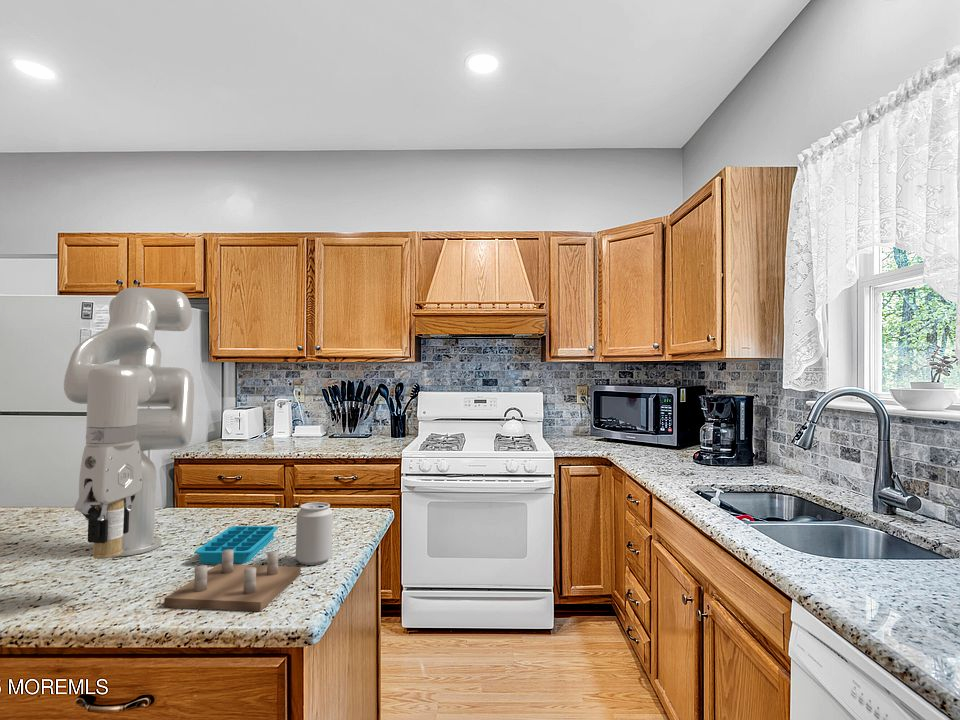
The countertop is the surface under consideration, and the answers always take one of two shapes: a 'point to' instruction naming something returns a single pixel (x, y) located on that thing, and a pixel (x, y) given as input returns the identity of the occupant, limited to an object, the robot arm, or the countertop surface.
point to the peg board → (234, 585)
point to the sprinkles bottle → (112, 532)
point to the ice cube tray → (236, 544)
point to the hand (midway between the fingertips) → (108, 536)
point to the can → (314, 533)
